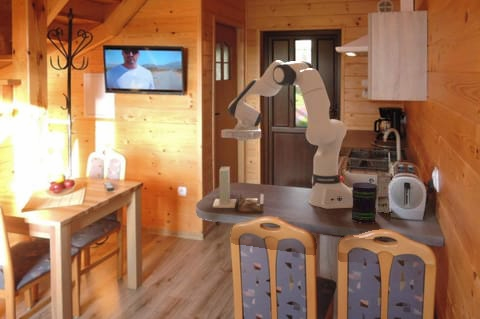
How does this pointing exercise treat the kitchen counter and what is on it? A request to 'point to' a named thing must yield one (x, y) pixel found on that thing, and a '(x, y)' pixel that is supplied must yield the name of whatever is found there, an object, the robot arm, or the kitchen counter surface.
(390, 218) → the kitchen counter surface
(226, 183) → the tall board
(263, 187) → the kitchen counter surface
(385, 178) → the coffee box
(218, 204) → the pad
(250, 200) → the offcut stack
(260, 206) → the offcut rack
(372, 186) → the storage jar
